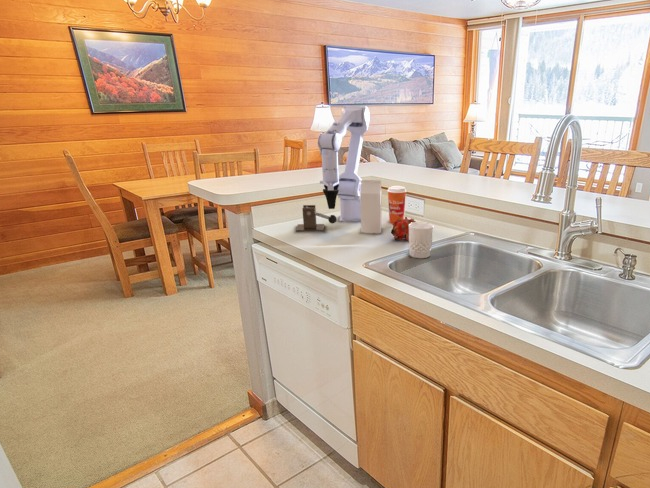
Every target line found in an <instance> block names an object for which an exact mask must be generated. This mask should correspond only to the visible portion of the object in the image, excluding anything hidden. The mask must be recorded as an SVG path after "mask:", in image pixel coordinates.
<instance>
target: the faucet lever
mask: <svg viewBox="0 0 650 488" xmlns="http://www.w3.org/2000/svg"><path fill="white" fill-rule="evenodd" d="M306 208H310V207H306ZM315 215H316V217H319V218H321V219H326V220H328V222H329V223H330V224H336V222H337V221H338V218H337V216H336V215H335V214H331V215H326V214H323V213H321V212H318V211H316V212H315Z"/></svg>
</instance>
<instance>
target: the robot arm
mask: <svg viewBox="0 0 650 488" xmlns="http://www.w3.org/2000/svg"><path fill="white" fill-rule="evenodd" d="M370 114H371V113H370V110H369V108H368V106H366V105H364V106H360V105H359V106H357V105H343V107H342V108H341V116H340V118H339V119H338V121H334V122H332V124H331V125H330V127H329V128H328V129H327V130H326V131H325V132H322V133H320V134H319V136H318V139H317V147H318V149H319V154H320V156H321V169H322V171H321V172H322V180H320V181H319V184H320V185H321V184H323V189H322V192H323V194H324V196H325V199H326V203H327V208H328V209H329V210H335V209H336V202H337V198H338V199H339V208H340V209H339V211H340V212H339V213H340V215H339V222H361V180H363V179H362V178H361V177H360V176H359V175H358V170H359V165H360V160H361V159H360V157H361V153H362V147H363V142H364V135H365V133H366V132H368V129H369V126H370V119H371V116H370ZM347 131H348V132H349V133H350V139H349V143H348V149H347V155H346V161H345V167H344V171H343V172H342V173H341V174H339V150H340V149H341V145H342V140H343V139H344V137H345V136H346V135H347Z"/></svg>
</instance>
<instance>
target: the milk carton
mask: <svg viewBox="0 0 650 488" xmlns="http://www.w3.org/2000/svg"><path fill="white" fill-rule="evenodd" d="M360 198H361V221H360V233H362V234H363V233H364V234H381V232H382V180H381V179H380V180H379V179H362V180H361V196H360Z"/></svg>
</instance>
